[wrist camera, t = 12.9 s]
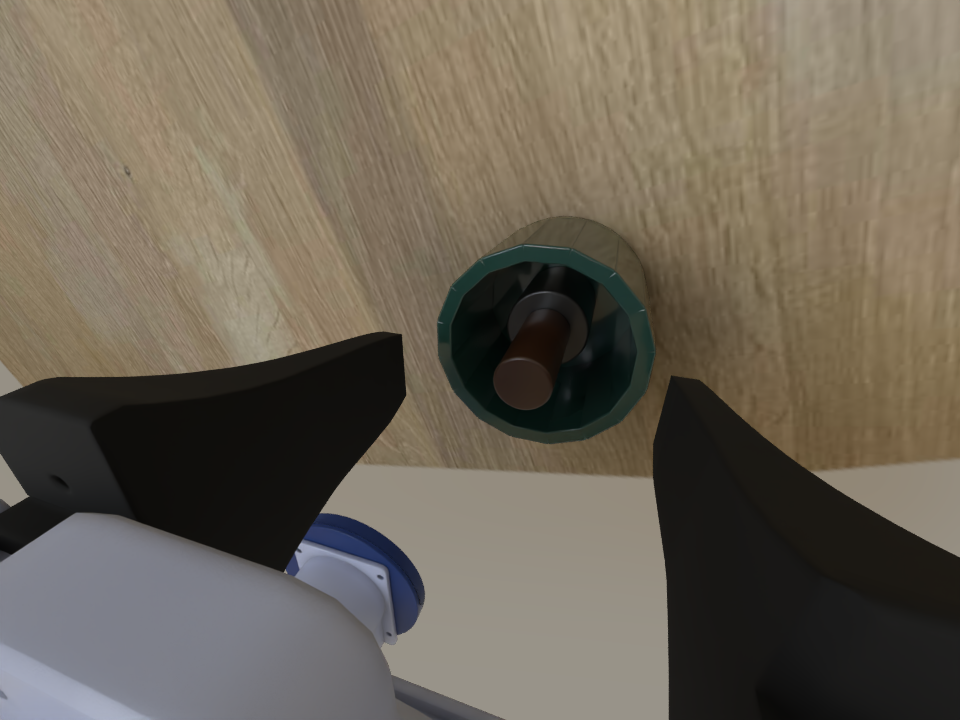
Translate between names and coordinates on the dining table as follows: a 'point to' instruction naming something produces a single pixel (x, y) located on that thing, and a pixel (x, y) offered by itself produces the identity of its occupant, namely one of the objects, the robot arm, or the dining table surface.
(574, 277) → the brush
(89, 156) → the dining table surface
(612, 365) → the pot
